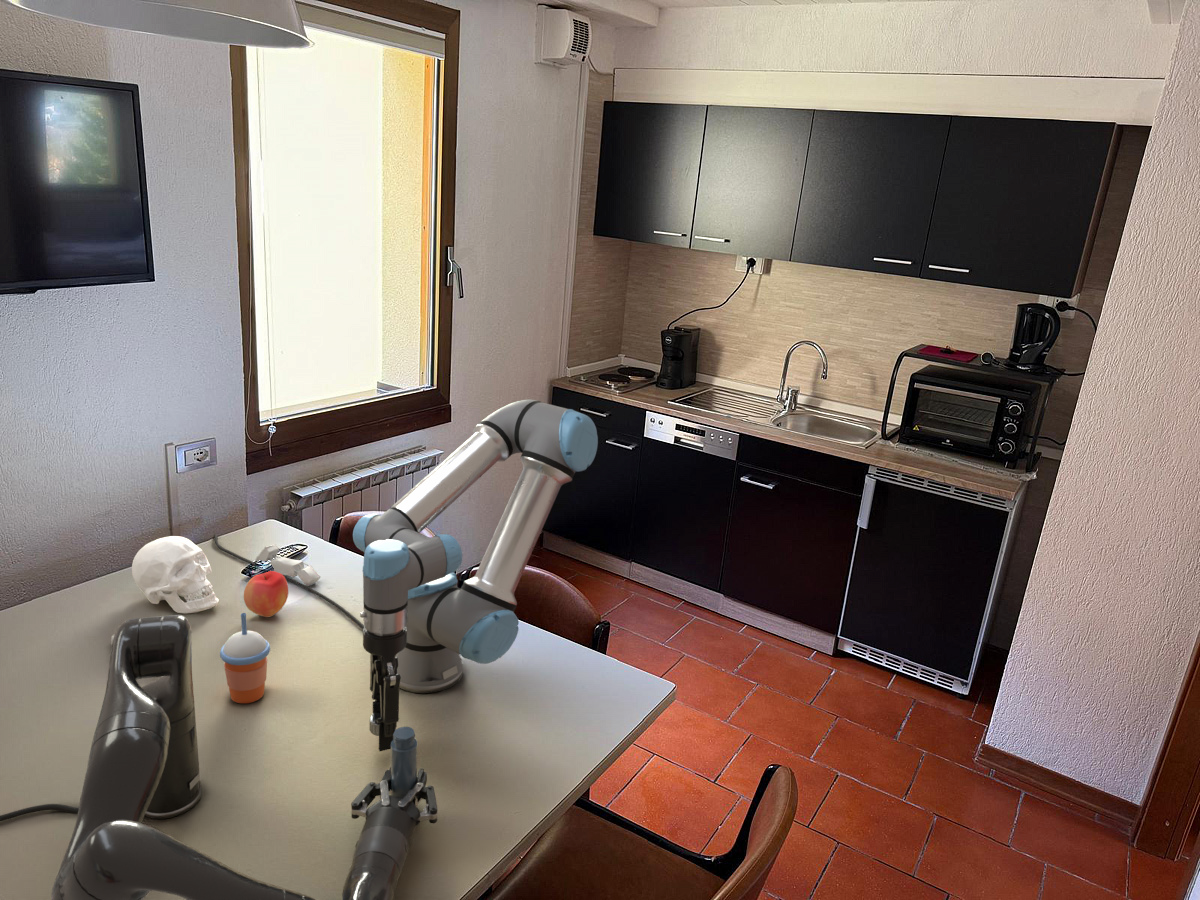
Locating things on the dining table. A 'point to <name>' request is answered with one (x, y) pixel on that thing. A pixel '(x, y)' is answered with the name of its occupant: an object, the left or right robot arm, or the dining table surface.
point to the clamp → (288, 565)
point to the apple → (266, 593)
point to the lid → (374, 725)
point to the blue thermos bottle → (403, 761)
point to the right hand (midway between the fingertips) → (383, 739)
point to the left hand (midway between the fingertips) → (407, 772)
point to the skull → (174, 574)
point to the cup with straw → (245, 664)
